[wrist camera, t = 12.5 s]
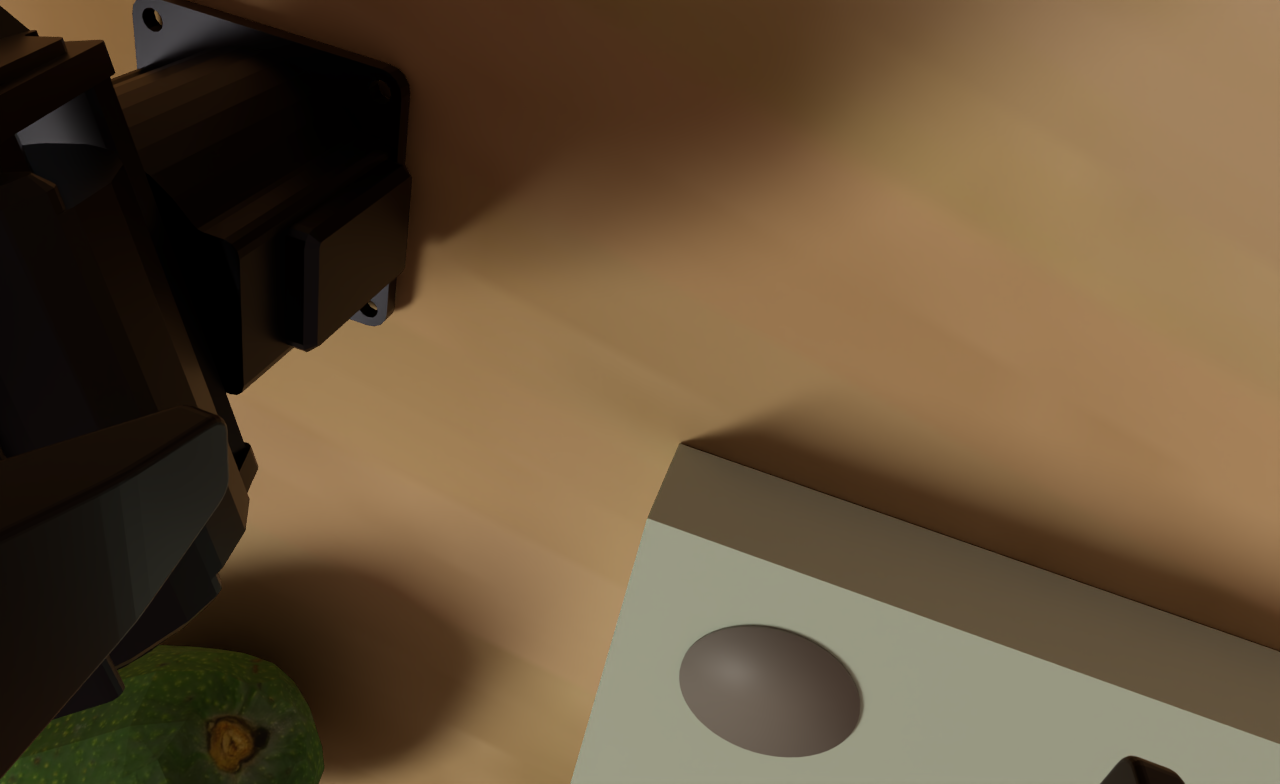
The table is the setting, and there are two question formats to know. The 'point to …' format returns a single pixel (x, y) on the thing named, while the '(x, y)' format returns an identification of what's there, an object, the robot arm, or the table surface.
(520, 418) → the table surface
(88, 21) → the table surface
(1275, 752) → the seat board
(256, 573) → the table surface
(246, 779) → the fruit
